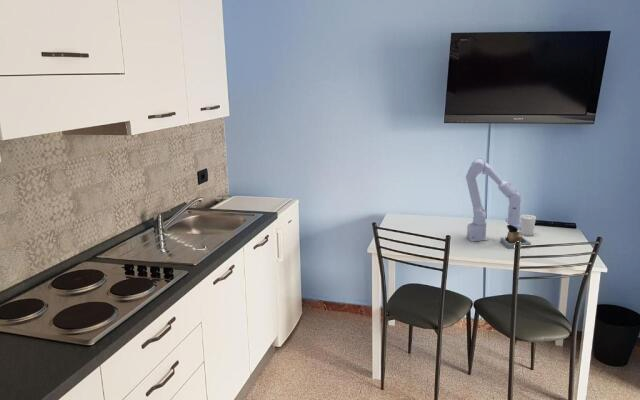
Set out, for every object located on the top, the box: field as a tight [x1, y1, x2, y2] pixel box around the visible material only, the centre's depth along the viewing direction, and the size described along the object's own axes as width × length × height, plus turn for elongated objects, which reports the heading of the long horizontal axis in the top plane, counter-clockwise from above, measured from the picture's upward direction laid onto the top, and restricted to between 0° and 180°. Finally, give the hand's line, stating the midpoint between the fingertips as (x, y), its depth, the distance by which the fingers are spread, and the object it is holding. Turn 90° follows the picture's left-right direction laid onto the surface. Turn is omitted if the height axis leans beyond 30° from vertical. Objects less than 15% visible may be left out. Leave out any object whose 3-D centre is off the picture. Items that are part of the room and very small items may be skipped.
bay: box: [499, 237, 532, 250], centre depth 260 cm, size 12×10×2 cm
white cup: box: [519, 214, 537, 237], centre depth 275 cm, size 8×8×10 cm
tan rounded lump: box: [504, 231, 524, 244], centre depth 262 cm, size 8×5×5 cm, turn 90°
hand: (512, 238), depth 265 cm, fingers closed, pressing on tan rounded lump
